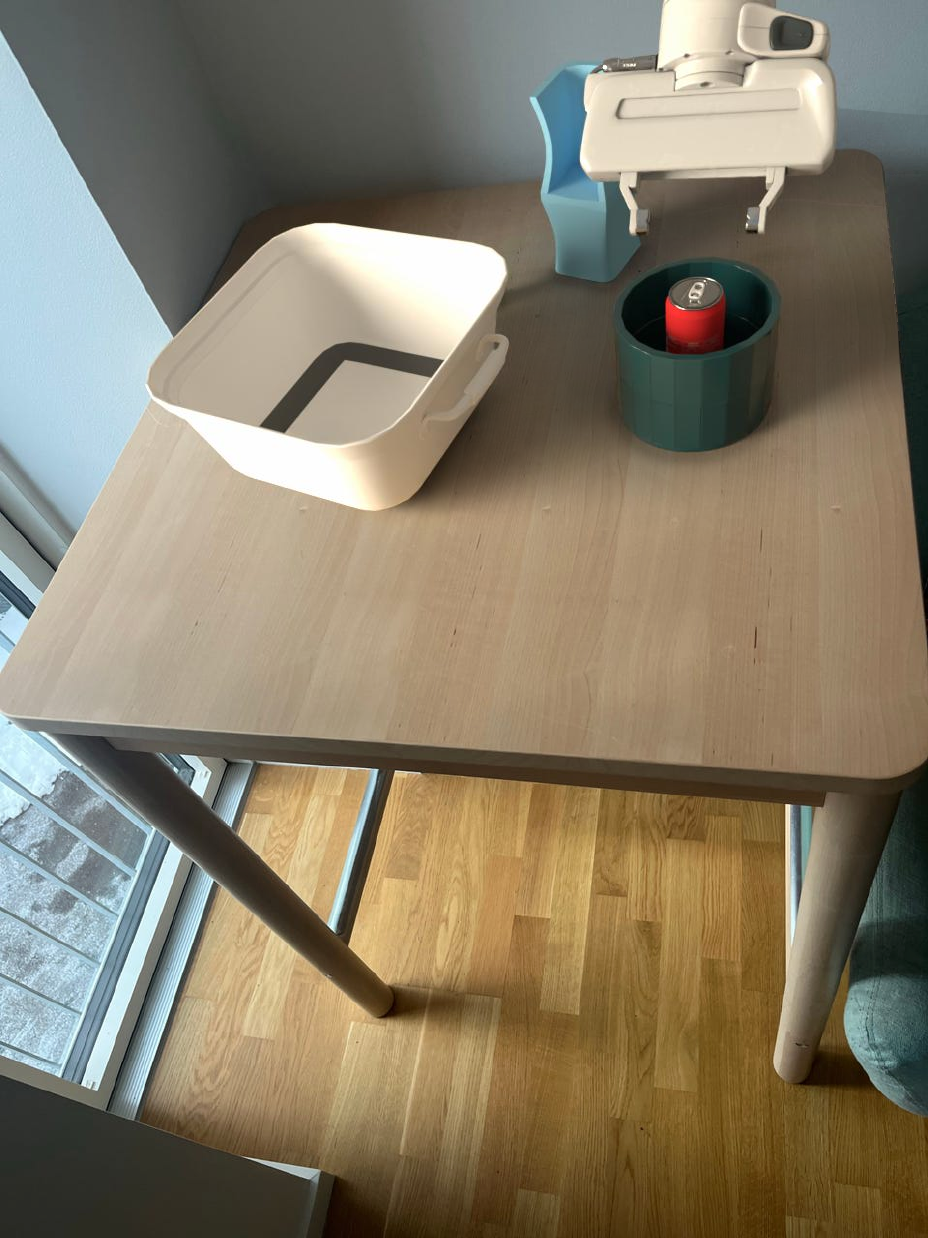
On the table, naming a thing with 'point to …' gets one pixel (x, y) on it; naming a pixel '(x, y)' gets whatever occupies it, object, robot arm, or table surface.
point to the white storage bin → (340, 360)
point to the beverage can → (695, 316)
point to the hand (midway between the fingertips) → (695, 233)
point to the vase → (579, 184)
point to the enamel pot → (696, 359)
